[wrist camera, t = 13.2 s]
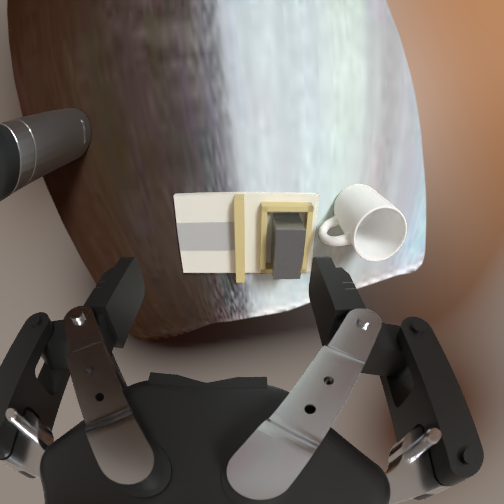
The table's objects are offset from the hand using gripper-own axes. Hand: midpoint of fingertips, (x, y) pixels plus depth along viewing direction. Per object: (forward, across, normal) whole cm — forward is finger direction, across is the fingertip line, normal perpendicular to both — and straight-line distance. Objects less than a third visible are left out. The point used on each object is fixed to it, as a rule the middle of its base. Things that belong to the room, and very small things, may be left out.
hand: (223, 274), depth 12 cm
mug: (+30, -17, +9) cm, 36 cm away
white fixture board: (+30, -1, +13) cm, 33 cm away
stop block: (+29, -7, +13) cm, 33 cm away
